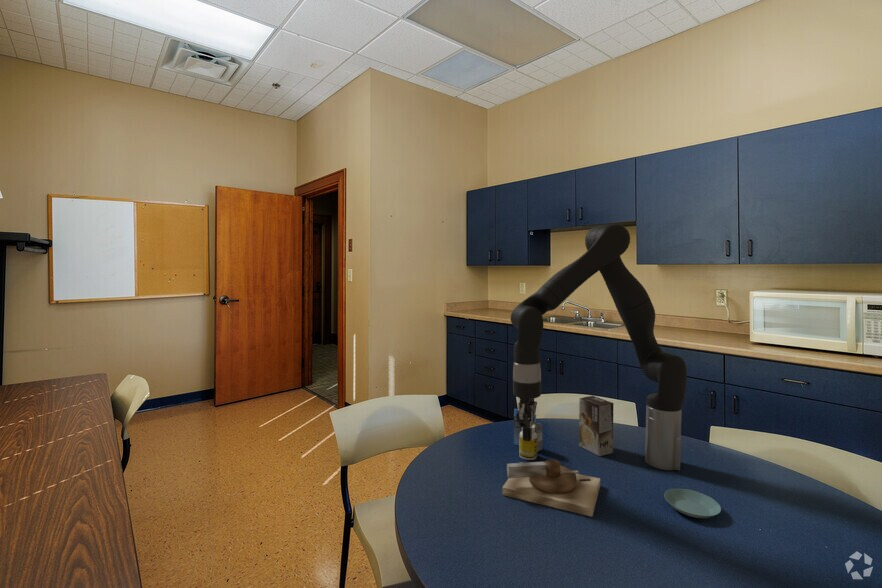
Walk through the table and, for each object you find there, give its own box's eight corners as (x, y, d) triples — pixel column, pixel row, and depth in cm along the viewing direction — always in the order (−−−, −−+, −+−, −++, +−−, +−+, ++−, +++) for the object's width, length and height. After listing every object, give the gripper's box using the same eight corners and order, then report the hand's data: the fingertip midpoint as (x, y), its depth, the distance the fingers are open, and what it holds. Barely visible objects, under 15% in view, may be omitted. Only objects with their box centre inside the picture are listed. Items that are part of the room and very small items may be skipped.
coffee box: (614, 453, 135) (615, 402, 134) (598, 456, 132) (599, 405, 131) (592, 442, 143) (593, 395, 142) (577, 445, 140) (578, 397, 139)
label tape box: (542, 449, 137) (543, 412, 137) (535, 453, 135) (536, 415, 134) (520, 441, 144) (520, 405, 143) (513, 445, 141) (513, 408, 140)
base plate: (600, 485, 114) (600, 477, 114) (592, 516, 100) (592, 507, 100) (519, 468, 124) (519, 461, 124) (502, 494, 110) (502, 486, 110)
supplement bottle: (537, 461, 129) (537, 429, 128) (519, 459, 130) (519, 428, 129) (536, 453, 134) (537, 423, 134) (519, 452, 135) (519, 422, 135)
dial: (568, 469, 119) (568, 451, 118) (588, 491, 107) (588, 471, 106) (501, 473, 116) (501, 455, 116) (514, 496, 104) (514, 476, 104)
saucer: (718, 504, 105) (718, 495, 105) (723, 530, 95) (723, 520, 95) (664, 492, 111) (664, 484, 111) (663, 515, 101) (663, 506, 100)
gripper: (534, 385, 110) (534, 451, 111) (546, 374, 121) (546, 433, 122) (506, 382, 113) (506, 446, 114) (520, 371, 125) (520, 429, 126)
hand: (527, 439), depth 118 cm, fingers closed
